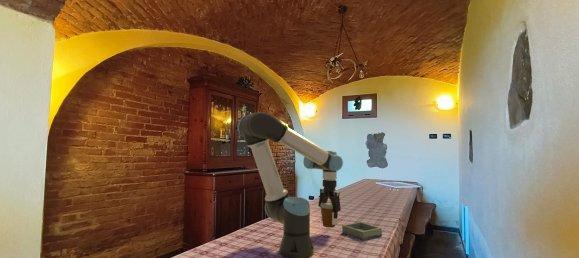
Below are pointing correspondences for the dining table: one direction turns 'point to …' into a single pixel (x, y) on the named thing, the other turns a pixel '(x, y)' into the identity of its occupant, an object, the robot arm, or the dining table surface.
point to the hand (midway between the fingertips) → (328, 222)
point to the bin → (362, 230)
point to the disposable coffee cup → (327, 214)
